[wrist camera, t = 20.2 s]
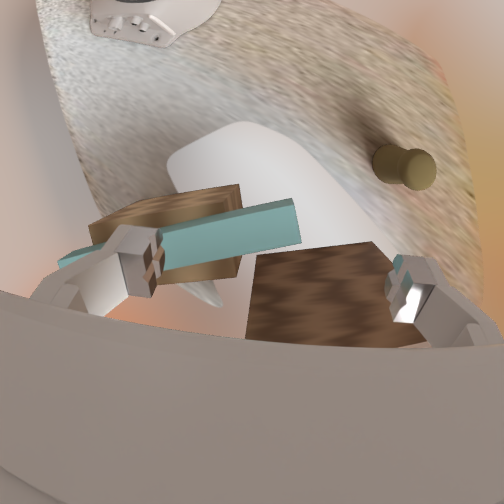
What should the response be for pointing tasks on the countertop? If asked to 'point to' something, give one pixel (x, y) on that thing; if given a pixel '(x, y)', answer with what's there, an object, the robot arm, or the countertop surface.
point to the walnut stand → (327, 299)
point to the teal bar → (222, 235)
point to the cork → (404, 167)
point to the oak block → (174, 212)
